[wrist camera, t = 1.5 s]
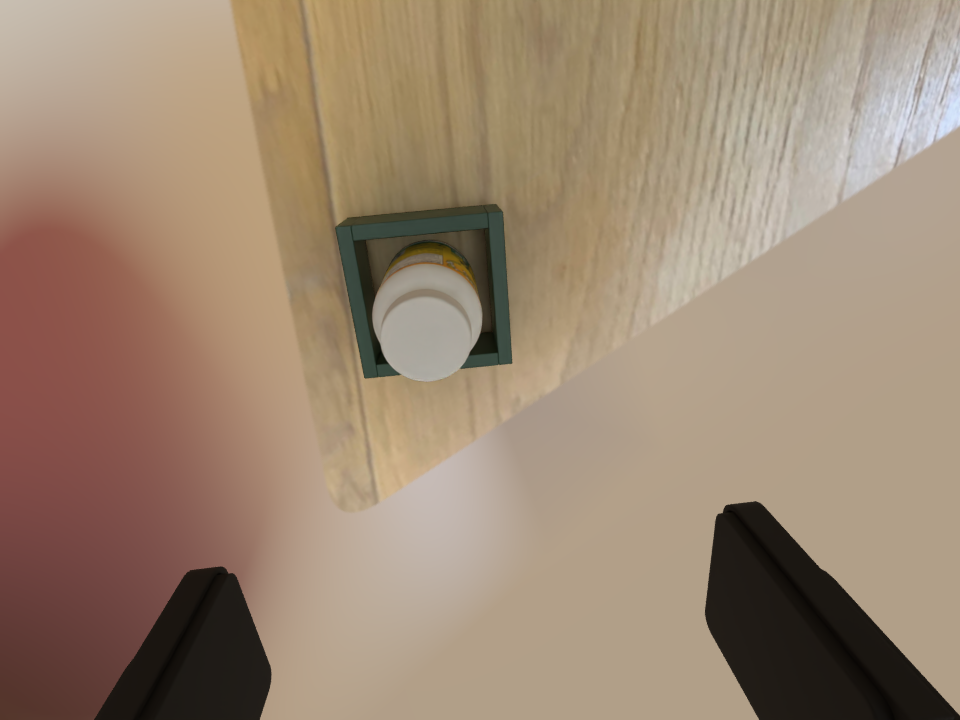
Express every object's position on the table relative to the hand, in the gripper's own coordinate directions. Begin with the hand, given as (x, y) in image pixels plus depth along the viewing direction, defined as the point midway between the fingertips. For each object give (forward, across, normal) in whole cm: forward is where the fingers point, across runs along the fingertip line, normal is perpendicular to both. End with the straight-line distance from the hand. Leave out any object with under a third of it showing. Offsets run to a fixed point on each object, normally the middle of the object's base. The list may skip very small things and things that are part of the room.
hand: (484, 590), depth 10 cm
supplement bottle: (+23, +2, -1) cm, 23 cm away
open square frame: (+23, +2, -1) cm, 23 cm away
